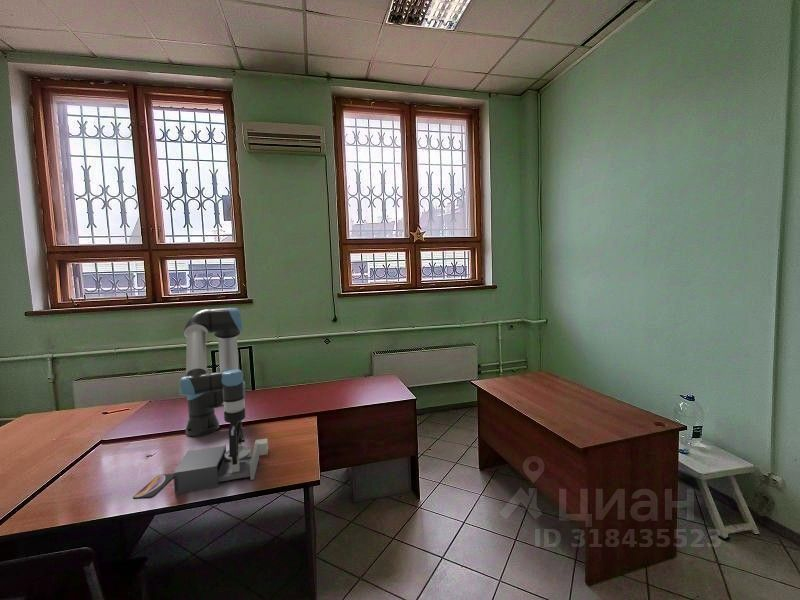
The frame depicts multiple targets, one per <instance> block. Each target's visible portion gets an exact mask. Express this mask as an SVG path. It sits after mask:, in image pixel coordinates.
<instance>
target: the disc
mask: <svg viewBox="0 0 800 600" xmlns="http://www.w3.org/2000/svg"><path fill="white" fill-rule="evenodd" d="M250 450H251V449H250V447H248V446H244V445H243V446H241V447H238V454H239V461H241V460H243V459H245V458H247V457H248V456H251V455H250V453H251V451H250ZM228 455H230V453H229V449H228V450H226V453H225V461H227V462H231V457H228Z"/></svg>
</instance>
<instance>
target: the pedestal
mask: <svg viewBox="0 0 800 600" xmlns="http://www.w3.org/2000/svg"><path fill="white" fill-rule="evenodd" d="M256 443H258V450H259V457H260V456H265V455H268V453H269V441H268V438H260V439H255V441H254V446H255V444H256ZM254 446H253V447H254Z"/></svg>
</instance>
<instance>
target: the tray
mask: <svg viewBox="0 0 800 600" xmlns="http://www.w3.org/2000/svg"><path fill="white" fill-rule="evenodd" d="M254 444H255V443H254ZM259 461H260V456H259V450H258V443H256V444H255V446H253V450H252V454H251V455H249V456H248V457H247V458H245V459H243V460H241V461H239V465H240V471H238V472H232V467H231V462H227V461H225V460H222V462H221V465H220V467H219V469H218V482H220V483H221V482H224V481H225V482H226V481H231V480H238V479H242V478H249V477H250V481H252V480H255V476H256V473H257V468H258V465H259V464H258V463H259Z"/></svg>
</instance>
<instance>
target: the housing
mask: <svg viewBox="0 0 800 600" xmlns="http://www.w3.org/2000/svg"><path fill="white" fill-rule="evenodd" d="M226 445H227V444H226ZM226 445H225V444H224V445H219V446H213V447H211V446H210V447H206V448H199V449H193V450H187V452H186V453H185V455H184V456H183V458H182V459H181V461H179V464H178V465H177V467H176V468H175V469H174V472H173V473H172V474H174V478H173V487H174V495H180V494H186V493H191V492H197V491H203V490H207V489H213V488H218V487H219V485H220V483H221V482H218V469H219V467H220V465H221V462H222V460H225V453H226V452H227V446H226Z"/></svg>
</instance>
